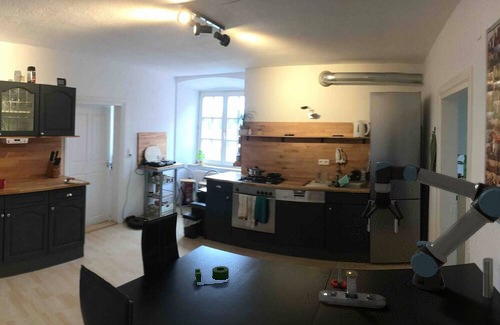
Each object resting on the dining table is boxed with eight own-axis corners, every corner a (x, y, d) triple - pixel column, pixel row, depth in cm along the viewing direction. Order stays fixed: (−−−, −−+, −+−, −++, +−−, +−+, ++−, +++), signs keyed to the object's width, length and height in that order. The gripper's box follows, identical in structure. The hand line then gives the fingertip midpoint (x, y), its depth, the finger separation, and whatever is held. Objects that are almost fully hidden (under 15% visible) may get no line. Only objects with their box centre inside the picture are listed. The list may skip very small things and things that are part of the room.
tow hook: (329, 281, 185) (331, 287, 176) (330, 257, 185) (331, 262, 176) (345, 282, 184) (348, 288, 175) (345, 258, 184) (348, 263, 175)
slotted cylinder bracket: (227, 276, 191) (227, 265, 191) (230, 282, 183) (230, 271, 182) (195, 279, 187) (195, 268, 187) (196, 286, 178) (196, 274, 178)
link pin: (356, 300, 162) (357, 270, 161) (357, 305, 156) (358, 275, 156) (345, 299, 163) (345, 270, 162) (345, 304, 157) (346, 274, 157)
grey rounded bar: (383, 301, 160) (383, 293, 160) (386, 309, 152) (386, 301, 152) (319, 295, 167) (319, 287, 166) (318, 302, 159) (318, 294, 159)
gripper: (406, 190, 177) (405, 230, 178) (356, 190, 182) (356, 228, 183) (410, 192, 170) (409, 234, 171) (358, 191, 175) (358, 232, 176)
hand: (382, 231), depth 177 cm, fingers open, 13 cm apart
